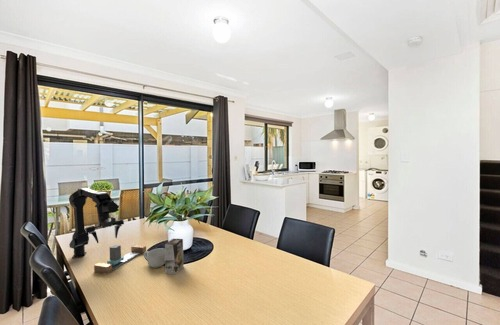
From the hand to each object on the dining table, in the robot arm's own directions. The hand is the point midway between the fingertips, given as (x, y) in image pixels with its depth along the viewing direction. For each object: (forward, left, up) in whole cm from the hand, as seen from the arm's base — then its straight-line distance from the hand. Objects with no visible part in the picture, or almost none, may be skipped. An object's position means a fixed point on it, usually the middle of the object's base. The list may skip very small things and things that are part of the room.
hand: (107, 240), depth 139 cm
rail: (-2, +7, -14) cm, 16 cm away
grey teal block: (+2, +4, -12) cm, 13 cm away
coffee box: (+22, +35, -15) cm, 44 cm away
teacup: (+11, +25, -15) cm, 31 cm away
